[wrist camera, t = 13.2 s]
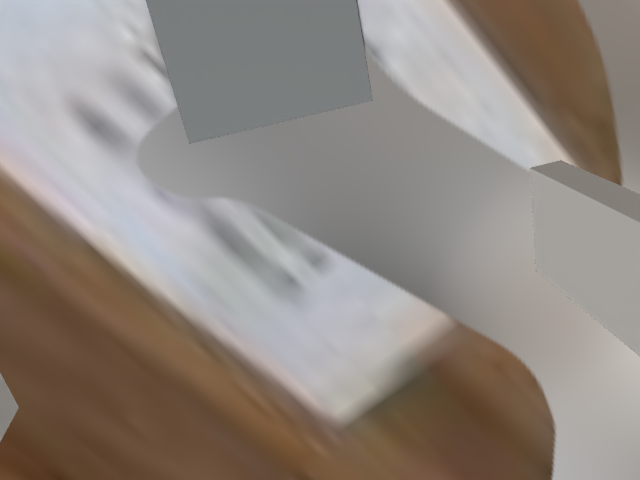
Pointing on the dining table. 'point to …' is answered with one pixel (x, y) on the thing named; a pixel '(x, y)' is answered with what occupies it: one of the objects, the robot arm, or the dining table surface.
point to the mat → (259, 60)
